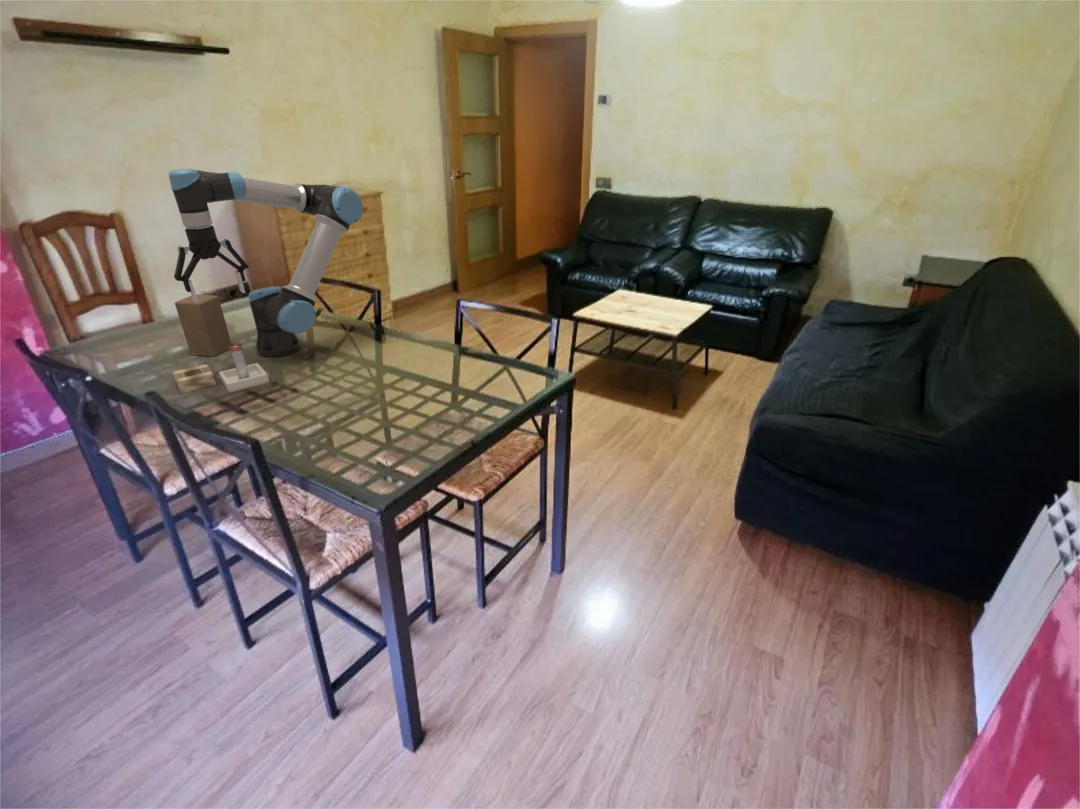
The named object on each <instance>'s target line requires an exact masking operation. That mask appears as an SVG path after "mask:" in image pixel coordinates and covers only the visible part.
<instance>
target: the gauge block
mask: <svg viewBox="0 0 1080 809" xmlns="http://www.w3.org/2000/svg"><path fill="white" fill-rule="evenodd" d="M172 374H173V377H174V380H175V381H174V382H175V383H176V385H177V387H178V390H179V392H180V394H185V393H186V394H187V393H190V392H193V391H198V390H202V389H205V388H206V389H207V388H210V387H214V386H217V382H216V379H215V376H214V373H213V372H212V370H211V369H210V367H209V365H208V364H207V363H206V364H200V365H197V366H192V367H188V368H182V369H179V370H178V369H177V370H174V371H172Z"/></svg>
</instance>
